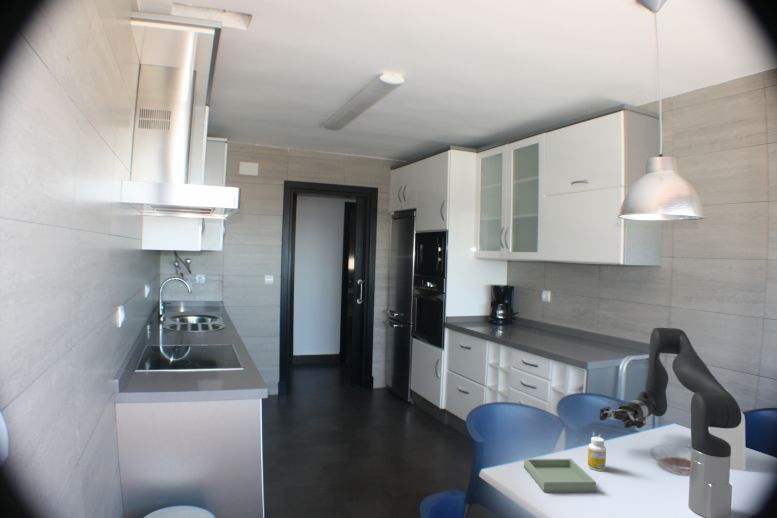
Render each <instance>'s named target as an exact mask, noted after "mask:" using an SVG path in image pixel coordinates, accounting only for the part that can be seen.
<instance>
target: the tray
mask: <svg viewBox="0 0 777 518" xmlns="http://www.w3.org/2000/svg"><path fill="white" fill-rule="evenodd" d="M523 469H524V470H525V471H526V472H527V474H530V475H529V476H530V477H531V479H534V480H535V481H534V480H533V481H534V483H536V485H537V484H538V485H537V486H538V487H539V488H540V490H541V491H542V490H543V491H542V492H543V493H596V492H597V491H596V490H597V482H596V481H595V480H594V479H593V478H592V477H591V476H590V475H589V474H588V473H587V472H586V471H584V469H583V468H582V467H580V465H578V464H577V463H576V462H575V461H574V460H573V459H572V458H524V459H523Z"/></svg>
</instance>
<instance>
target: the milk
mask: <svg viewBox="0 0 777 518" xmlns="http://www.w3.org/2000/svg"><path fill="white" fill-rule="evenodd" d="M725 389H726V390H727V391H728V392H729V390H728V389H727V388H725ZM741 416H742V419H741V423H740V425H739V426H738V427H736V428H731V429H725V428H716V427H709V433H710V434H712V435H714V436H716V437H719V438H721V439H723V440H725V441H726V442H728V443H729V444H730V446H731V458H730V470H734V471H735V470H737V471H743V472H744V471H747V470H746V469H747V468H746V467H747V465H746V463H747V462H746V461H747V460H746V418H745V414H744V413H743V412H742V411H741Z"/></svg>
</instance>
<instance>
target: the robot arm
mask: <svg viewBox="0 0 777 518" xmlns="http://www.w3.org/2000/svg"><path fill="white" fill-rule="evenodd" d="M649 337H650V338H649V353H648V370H647V376H646V381H645V385H644V390H645V391H641V392H640V393H639V394H638V395H637V398H636V399H634V400H630V401H628V402H625V403H623V404H620V406H619V407H618V408H617V409H611V407H610V406H606V407H603V408H600V409H599V420H600V421H605V420H609V419H610V420H612V421H619V422H622V423H624V428H625V429H628V428H629V429H630V428H631V427H632V428H635V427H636V428H637V429H641V428H643V427H644V426H646V422H647V421H646V420H647V418H648V417H650V416H651V415H653V416H655V417H662V416H664V415H665V414H666V412H667V410H668V399H667V388H668V383H669V375H668V371H667V370H666V367H665V366H664V364H663V363H662V361H661V358H660V356H661V355H660V354H668V355H676V356H675V357H674V359H673V361H672V365H671V367H672V372H673V373H674V375H675V377H676V378H677V380H678V382H679V383H680V384H681V385H682V386H683V387H684V388H686V390H687V389H688V390H689V391H690V392H692V393H693V395H691V396H692V397H691V401H690V438H691V439H690V440H691V445H690V459H689V460H690V462H689V485H688V486H689V487H688V508H689V509H690V511H692V512H693V513H695V514H697V515H699V516H701V517H704V518H731V516H732V499H733V497H732V496H733V495H732V494H733V486H732V484H731V483H730V479H731V478H730V477H731V476H730V475H731V469H730V458H731V446H730V444H729V443H728V442H726V441H725V440H723V439H721V438H719V437H716V436H714V435H712V434H710V433H709V427H716V428H725V429H731V428H736V427H738V426H739V425H740V423H741V419H742V416H741V412H742V411H741V408H740V405H739V404H738V402H737V400H736V399H735V397H734V396H733V395H732V394H731V393H730V392H729V390H728V389H727V388H725V387H724V386H723V385H722V384H721V383H720V382H719V380H717V379H716V377H715V376H714V375H713V373H712V372H711V371H710V369H709V368H708V366H707V365H706V364H705V362H704V361H703V360H702V359H701V357H700V356H699V355H698V353H697V351H696V350H695V348H694V347H693V345H692V343H691V341H690V339H689V337H688V335H687V334H686V333H685V331H684V330H682V329H681V328H673V327H655V328H653V329H652V331H651V332H650V336H649ZM726 389H727V390H728V391H727V390H726Z"/></svg>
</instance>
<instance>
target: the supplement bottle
mask: <svg viewBox="0 0 777 518" xmlns="http://www.w3.org/2000/svg"><path fill="white" fill-rule="evenodd" d="M590 442H591V443H589V444H588V451H587V452H588V453H587V466H588V468H589V469H591V470H593V471H596V472H597V471H598V472H603V471H605V470H606V465H607V464H606V457H607V448H606V446H605V439H604V438H603V437H600V436H592V437H590Z"/></svg>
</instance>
